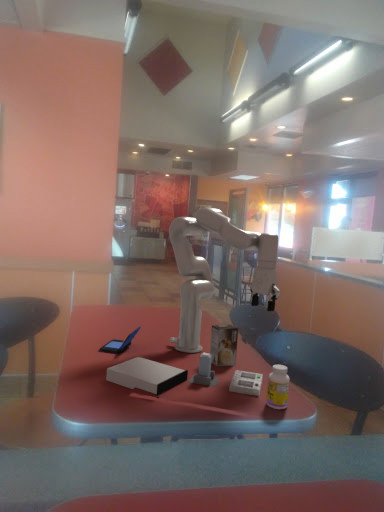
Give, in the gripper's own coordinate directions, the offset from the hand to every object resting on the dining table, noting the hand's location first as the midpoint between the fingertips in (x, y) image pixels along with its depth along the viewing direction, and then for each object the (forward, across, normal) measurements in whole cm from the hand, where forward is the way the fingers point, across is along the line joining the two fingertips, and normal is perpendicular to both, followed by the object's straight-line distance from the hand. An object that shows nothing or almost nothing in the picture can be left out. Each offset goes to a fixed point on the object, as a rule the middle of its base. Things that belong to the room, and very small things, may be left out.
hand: (262, 308), depth 164 cm
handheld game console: (+26, -44, -41) cm, 65 cm away
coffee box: (+26, -10, -10) cm, 29 cm away
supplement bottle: (+26, +28, -14) cm, 40 cm away
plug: (+24, +3, -27) cm, 37 cm away
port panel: (+25, +12, -15) cm, 32 cm away
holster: (+25, +3, -27) cm, 37 cm away
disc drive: (+26, -5, -46) cm, 53 cm away
